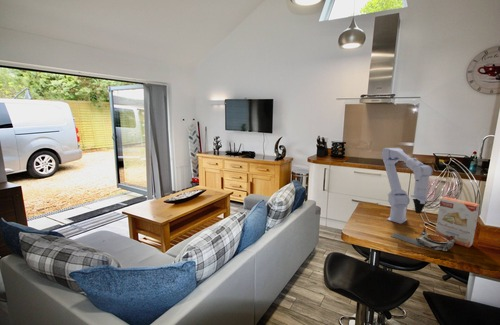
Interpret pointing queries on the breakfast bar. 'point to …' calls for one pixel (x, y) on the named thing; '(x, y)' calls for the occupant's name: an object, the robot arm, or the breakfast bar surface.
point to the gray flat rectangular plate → (407, 239)
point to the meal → (435, 241)
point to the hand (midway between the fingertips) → (418, 213)
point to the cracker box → (457, 220)
